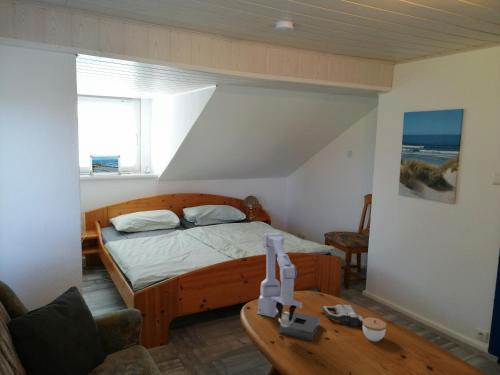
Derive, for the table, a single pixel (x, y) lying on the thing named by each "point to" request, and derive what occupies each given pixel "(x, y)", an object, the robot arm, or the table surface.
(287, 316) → the flanged cylindrical plug
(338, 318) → the portable electronic device
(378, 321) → the lidded jar
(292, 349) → the table surface
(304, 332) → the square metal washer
